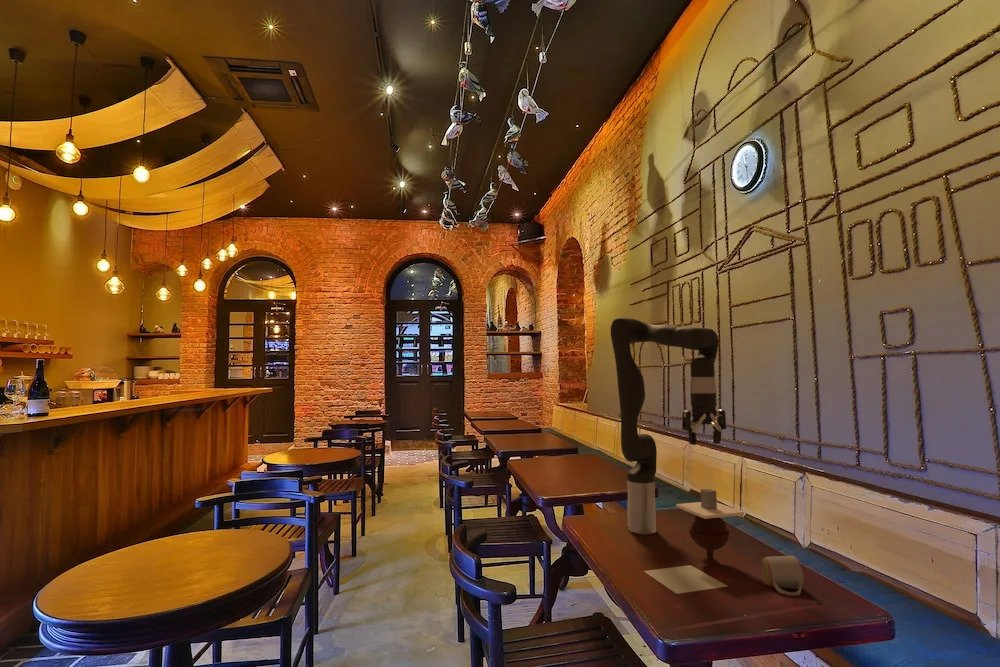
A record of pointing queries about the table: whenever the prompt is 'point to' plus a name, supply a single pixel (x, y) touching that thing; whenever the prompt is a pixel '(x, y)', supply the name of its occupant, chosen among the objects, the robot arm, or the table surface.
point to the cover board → (709, 513)
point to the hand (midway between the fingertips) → (704, 444)
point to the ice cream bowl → (709, 536)
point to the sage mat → (684, 579)
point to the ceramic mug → (782, 573)
